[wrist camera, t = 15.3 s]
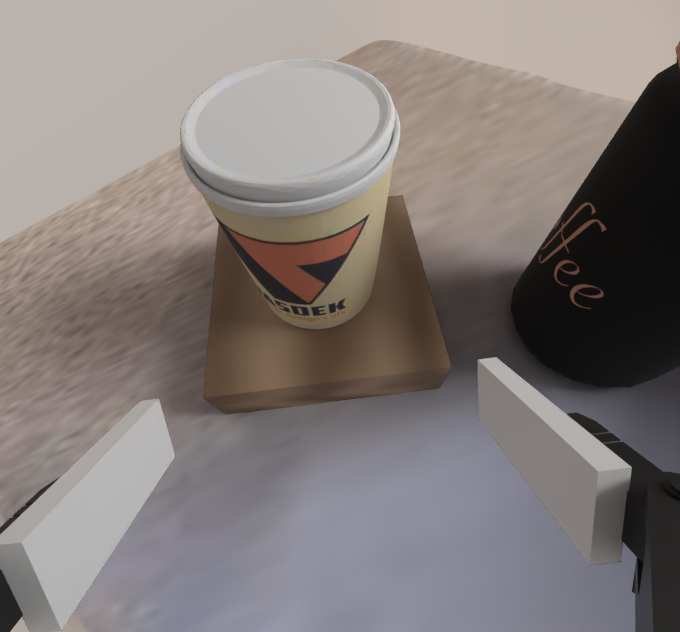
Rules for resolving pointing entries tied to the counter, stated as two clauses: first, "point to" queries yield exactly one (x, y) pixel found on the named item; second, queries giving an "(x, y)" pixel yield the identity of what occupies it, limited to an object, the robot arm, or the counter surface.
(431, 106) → the counter surface
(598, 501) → the robot arm
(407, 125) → the counter surface
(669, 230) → the coffee jar
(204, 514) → the counter surface
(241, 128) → the coffee cup
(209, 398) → the walnut riser
